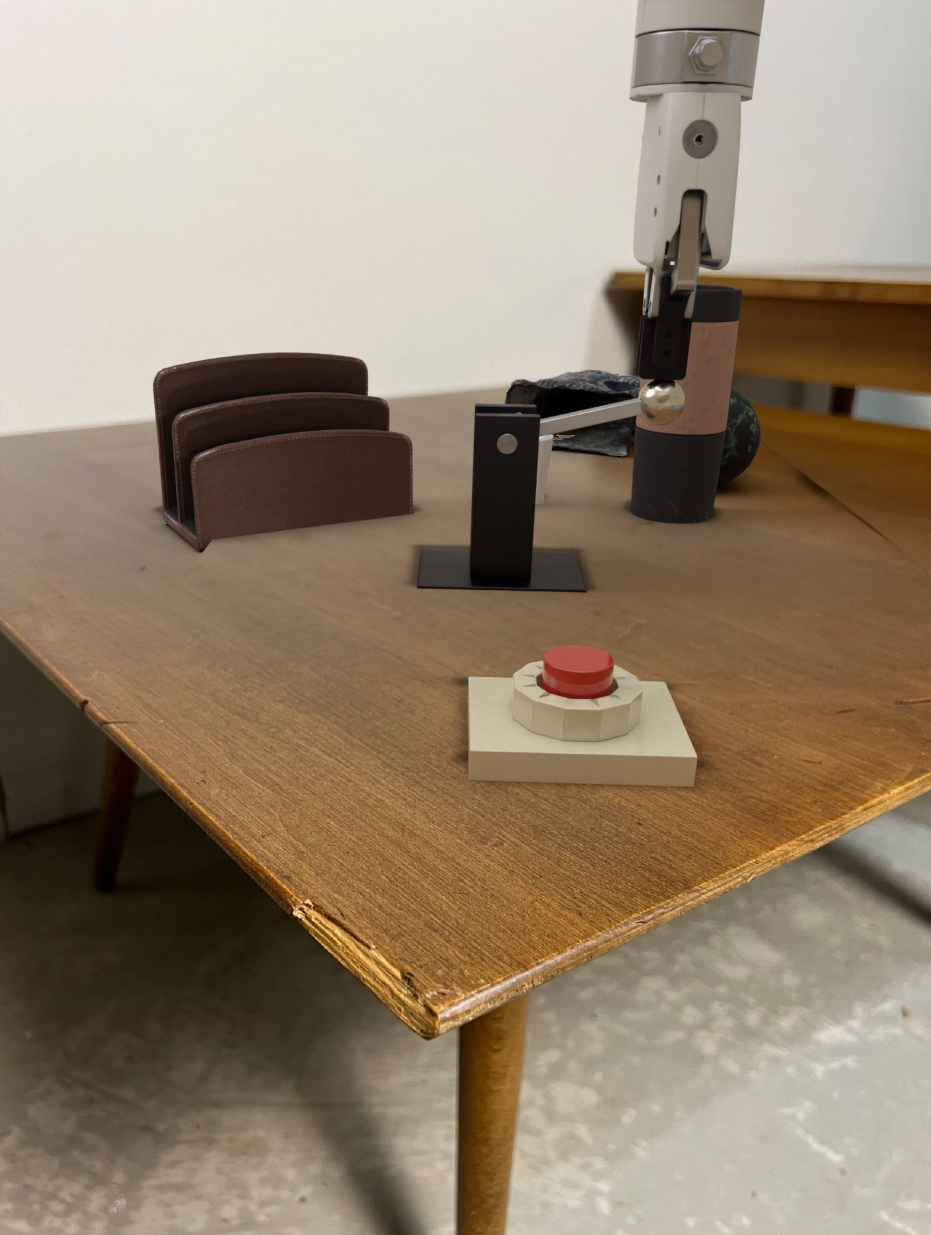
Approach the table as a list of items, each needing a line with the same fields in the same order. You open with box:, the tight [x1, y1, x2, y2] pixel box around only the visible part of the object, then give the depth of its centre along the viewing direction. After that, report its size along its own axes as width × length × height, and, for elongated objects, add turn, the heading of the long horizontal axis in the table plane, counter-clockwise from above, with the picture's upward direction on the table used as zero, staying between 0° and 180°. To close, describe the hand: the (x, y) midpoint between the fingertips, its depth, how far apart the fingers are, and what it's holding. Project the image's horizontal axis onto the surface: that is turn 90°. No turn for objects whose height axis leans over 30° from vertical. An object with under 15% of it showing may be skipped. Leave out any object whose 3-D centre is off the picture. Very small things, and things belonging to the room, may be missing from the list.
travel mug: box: [630, 283, 744, 525], centre depth 92 cm, size 8×8×20 cm
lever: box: [515, 380, 685, 437], centre depth 75 cm, size 14×3×3 cm, turn 88°
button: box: [541, 644, 615, 699], centre depth 55 cm, size 4×4×2 cm
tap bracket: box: [416, 403, 587, 594], centre depth 78 cm, size 12×9×13 cm
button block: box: [466, 659, 699, 788], centre depth 56 cm, size 11×9×4 cm
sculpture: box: [504, 369, 641, 457], centre depth 135 cm, size 8×16×30 cm
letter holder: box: [152, 351, 415, 552], centre depth 91 cm, size 10×20×14 cm, turn 118°
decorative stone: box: [717, 388, 762, 487], centre depth 108 cm, size 10×10×10 cm
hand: (659, 377), depth 74 cm, fingers closed
